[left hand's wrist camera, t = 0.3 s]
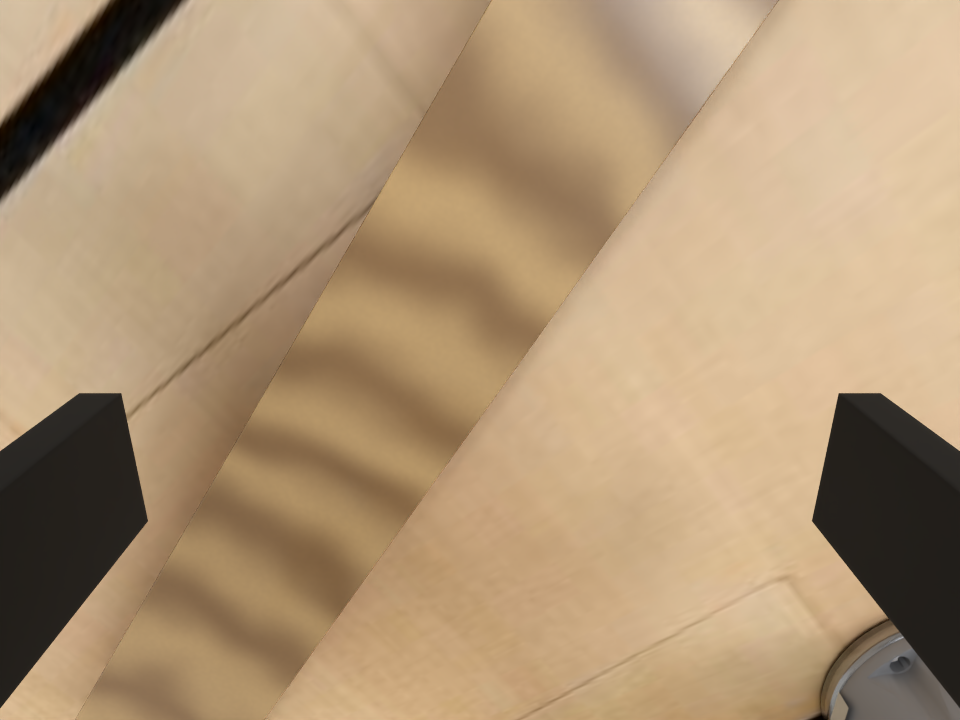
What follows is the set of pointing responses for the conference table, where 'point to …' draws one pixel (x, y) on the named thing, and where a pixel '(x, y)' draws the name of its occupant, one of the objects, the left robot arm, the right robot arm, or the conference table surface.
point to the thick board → (418, 335)
